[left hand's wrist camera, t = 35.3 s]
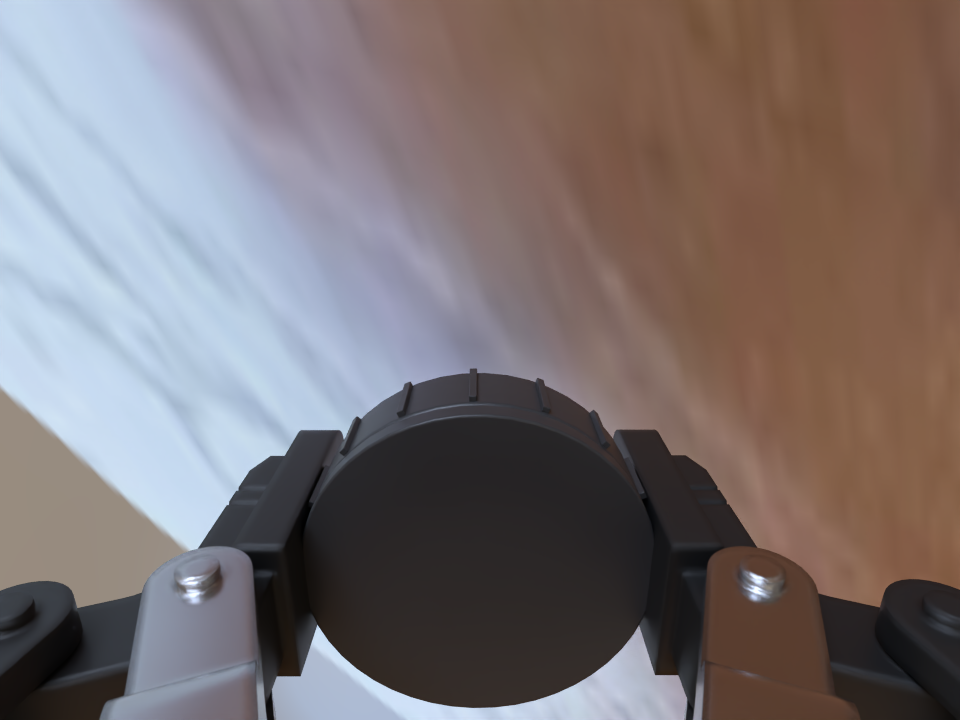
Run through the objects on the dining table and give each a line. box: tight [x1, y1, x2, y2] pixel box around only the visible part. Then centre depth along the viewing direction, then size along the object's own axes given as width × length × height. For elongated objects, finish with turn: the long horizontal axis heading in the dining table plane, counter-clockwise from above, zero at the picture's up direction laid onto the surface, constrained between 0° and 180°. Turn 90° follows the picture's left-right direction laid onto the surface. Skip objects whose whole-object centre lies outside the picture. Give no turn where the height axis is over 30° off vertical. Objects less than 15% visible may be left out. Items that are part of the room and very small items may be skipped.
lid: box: [302, 369, 654, 708], centre depth 10 cm, size 5×5×2 cm
